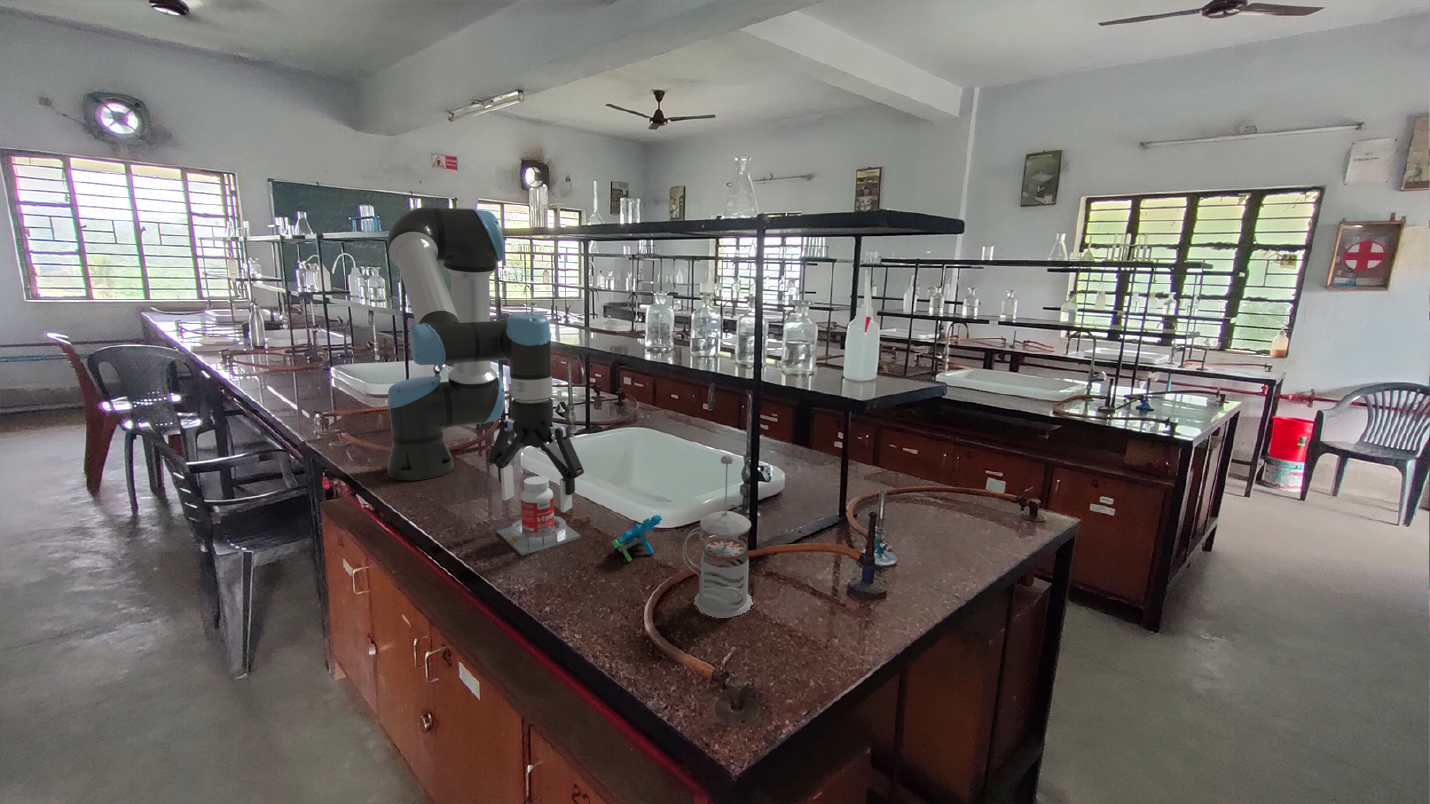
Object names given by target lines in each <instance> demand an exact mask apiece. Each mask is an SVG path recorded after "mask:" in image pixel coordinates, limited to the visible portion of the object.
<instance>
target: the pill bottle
mask: <svg viewBox="0 0 1430 804" xmlns="http://www.w3.org/2000/svg"><path fill="white" fill-rule="evenodd" d="M549 487H550V479H549V478H548V477H546V476H540V475H538V476H529V477H527V478H525V479H524V480H523V488H524V490H523V491H522V492H521V494H520V513H521V515H520V516H521V519H522V533H523V534H528V535H541V534H545V533H549V532H553V531H554V516H555V510H554V509H555V508H554V507H555V505H554V492H553V490H552V489H551V488H549Z"/></svg>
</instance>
